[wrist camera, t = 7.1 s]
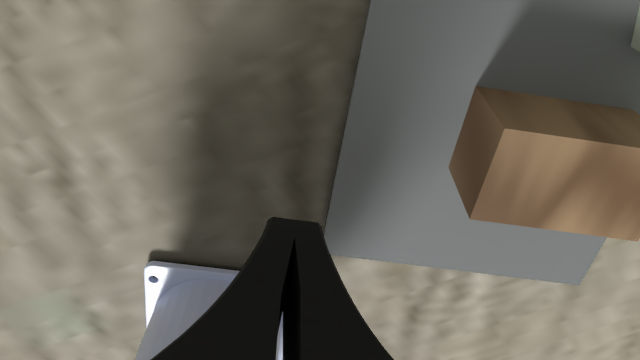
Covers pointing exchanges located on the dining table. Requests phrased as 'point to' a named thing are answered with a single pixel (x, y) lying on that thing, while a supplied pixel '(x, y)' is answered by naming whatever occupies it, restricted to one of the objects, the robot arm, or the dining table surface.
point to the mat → (447, 119)
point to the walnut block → (549, 164)
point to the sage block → (636, 34)
